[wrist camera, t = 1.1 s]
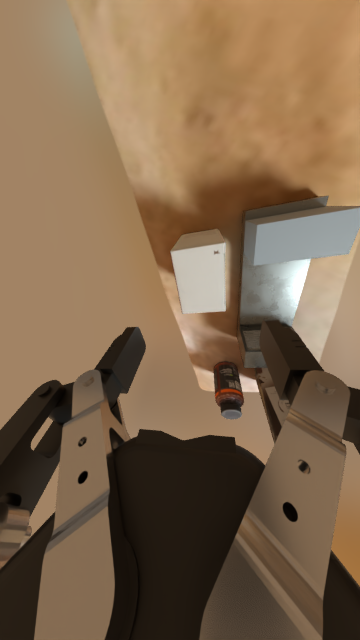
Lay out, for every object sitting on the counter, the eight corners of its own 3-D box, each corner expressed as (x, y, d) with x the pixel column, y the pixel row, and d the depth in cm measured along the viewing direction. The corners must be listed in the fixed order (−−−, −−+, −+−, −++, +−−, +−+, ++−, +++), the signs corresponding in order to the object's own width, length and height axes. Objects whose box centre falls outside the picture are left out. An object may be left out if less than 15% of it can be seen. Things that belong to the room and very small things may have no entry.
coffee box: (251, 357, 37) (276, 438, 24) (282, 354, 35) (326, 439, 22) (255, 380, 42) (277, 458, 29) (282, 378, 40) (319, 460, 27)
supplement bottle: (217, 377, 43) (221, 422, 34) (210, 363, 40) (211, 409, 31) (240, 373, 41) (250, 421, 32) (233, 358, 38) (242, 406, 29)
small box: (181, 234, 24) (168, 248, 16) (219, 227, 23) (226, 239, 15) (188, 283, 29) (181, 315, 20) (220, 279, 28) (226, 312, 19)
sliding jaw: (245, 220, 21) (257, 224, 16) (326, 206, 19) (368, 206, 14) (243, 253, 23) (253, 265, 18) (315, 243, 21) (348, 254, 16)
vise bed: (242, 210, 22) (258, 213, 15) (318, 196, 20) (373, 191, 13) (236, 337, 34) (244, 367, 28) (282, 335, 33) (301, 367, 26)
